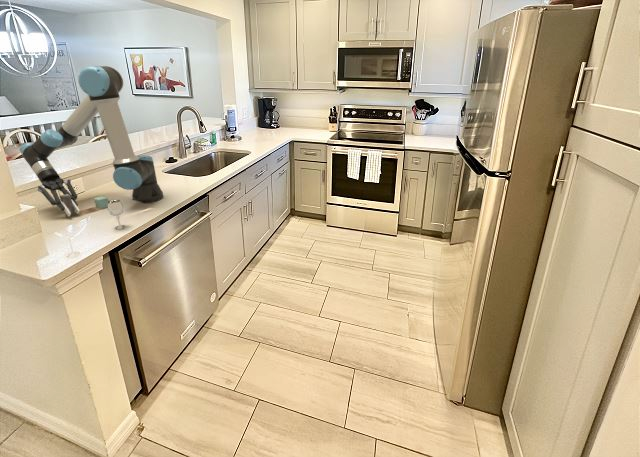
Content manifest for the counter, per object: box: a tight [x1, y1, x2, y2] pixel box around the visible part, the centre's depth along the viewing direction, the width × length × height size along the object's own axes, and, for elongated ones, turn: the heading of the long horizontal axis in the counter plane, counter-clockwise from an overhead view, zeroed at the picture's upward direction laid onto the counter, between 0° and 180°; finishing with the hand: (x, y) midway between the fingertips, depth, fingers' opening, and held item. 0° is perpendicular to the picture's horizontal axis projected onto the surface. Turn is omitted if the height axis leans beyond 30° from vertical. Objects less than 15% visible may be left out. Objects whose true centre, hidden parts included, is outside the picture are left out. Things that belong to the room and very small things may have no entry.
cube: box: [93, 195, 110, 210], centre depth 174 cm, size 4×4×4 cm
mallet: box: [59, 194, 108, 220], centre depth 169 cm, size 22×7×11 cm, turn 146°
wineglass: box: [107, 199, 127, 230], centre depth 152 cm, size 6×6×12 cm
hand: (74, 213), depth 161 cm, fingers closed on mallet, 3 cm apart
